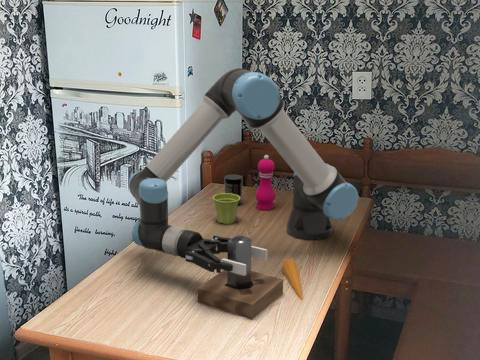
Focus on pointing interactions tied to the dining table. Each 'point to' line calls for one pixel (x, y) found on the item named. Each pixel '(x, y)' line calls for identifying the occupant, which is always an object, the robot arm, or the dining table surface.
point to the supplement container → (234, 185)
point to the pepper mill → (265, 185)
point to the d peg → (239, 253)
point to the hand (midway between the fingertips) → (256, 262)
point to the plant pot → (226, 207)
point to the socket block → (240, 294)
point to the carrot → (292, 275)
